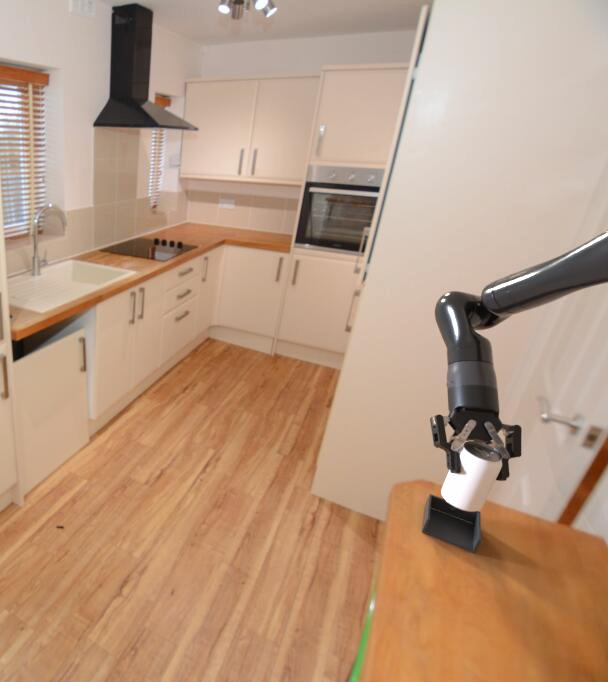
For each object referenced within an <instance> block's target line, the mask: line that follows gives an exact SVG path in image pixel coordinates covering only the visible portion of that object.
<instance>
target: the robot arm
mask: <svg viewBox="0 0 608 682" xmlns="http://www.w3.org/2000/svg"><path fill="white" fill-rule="evenodd" d="M602 284H608V229H606V230H605V231H603V232H602V233H599V234H598V235H596V236H594V237H593V238H591V239H588V240H587V241H585V242H584V243H582V244H580V245H578V246H577V247H574V248H573V249H570V250H568V251H566V252H564V253H562V254H560V255H558V256H555V257H553V258H550V259H547V260H545V261H542V262H539V263H536V264H534V265H531V266H528V267H526V268H523V269H520V270H518V271H515V272H513V273H510V274H507V275H505V276H502V277H500V278H497V279H496V280H494V281H492V282H490V283H488V284H487V285H485V286H484V287H483V289H482V291H481V293H480V295H478V294H474V293H469V292H464V291H459V290H450V291H448V292H445V293H444V294H441V296H440V297H439V298H438V300H437V302H436V303H435V307H434V319H435V322H436V325H437V327H438V330H439V333H440V335H441V338H442V340H443V343H444V345H445V348H446V360H447V371H446V372H447V373H446V388H447V389H446V390H447V408H448V409H447V410H448V415H447V416H446V415H445V416H444V415H442V414H436V415H433V416H431V417H430V418H429V421H430V429H431V436H432V443H433V446H434V447H435V448H437V449H441V450H443V451H444V452H445V458H446V468H447V470H450V472H451V473H453V474H459V473H460V472H461V465H460V453H459V452H458V450H459V448H461V447H462V446H463V444H464V443H465V442H468V441H477V442H481V443H485V444H487V445H490V446H492V447H494V448H495V449H497V450H498V451H499V452H500V453H501V454H502V456H503V458H502V468H501V470H500V472H499V474H498V476H497V478H496V480H495V481H497V482H504V481H505V482H506V481H507V480H508V478H509V477H510V475H511V474H510V464H509V461H510V460H511V459H515V458H520V457H522V435H523V434H522V432H523V431H522V430H523V429H522V426H521V425H519V424H513V425H511V424H507V423H503V421H501V418H500V400H499V390H498V389H499V387H498V378H497V374H496V370H495V366H494V354H493V346H492V342H491V340H490V339H489V338H487V337H485V336H484V335H482V334H480V333H478V331H484V330H490V329H493V328H494V327H497V326H498V325H500V324H501V323H503V322H504V321H506V320H508V319H510V318H511V317H512V316H513V315H517V314H520V313H522V312H526V311H529V310H532V309H536V308H540V307H542V306H546V305H547V304H550V303H553V302H555V301H558V300H559V299H560V300H561V299H562V298H565V297H567V296H569V295H571V294H574V293H577V292H579V291H582V290H586V289H587V288H591V287H594V286H598V285H602ZM448 425H449V426H450V428H451V429H452V430H453V432H452V434H451V436H449V439H447V433H446V427H447V426H448ZM500 431H501V432H502V435H503V436H504V441H503V439H502V438H501V437H500V435H499V433H500Z"/></svg>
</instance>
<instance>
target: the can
mask: <svg viewBox="0 0 608 682" xmlns="http://www.w3.org/2000/svg"><path fill="white" fill-rule="evenodd" d="M457 452H459V453H460V465H461V472H460V473H459V474H453V473H451V472H450V470H449V471H448V473H447V475H446V478H445V479H444V482H443V484H442V487H441V490H440V494H441V497H442V498H443V499H445V500H446V501H447V502H448V503H449V504H450V505H452V506H453V507H455V508H457V509H460V510H463V511H467V512H475V511H479V512H480V511H481V510H482V509H483V507H484V505H485V503H486V501H487V499H488V497H489V495H490V493H491V490H492V489H493V487H494V484H495V483H496V481H497V480H496V478H497V476H498V474H499V472H500V470H501V468H502V458H503V456H502V454H501V453H500V452H499V451H498V450H497V449H495V448H494V447H492V446H490V445H487V444H485V443H481V442H477V441H473V440H471V441H465V442H463V445H461V447H460V448H459V450H458V451H457Z"/></svg>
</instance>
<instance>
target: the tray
mask: <svg viewBox="0 0 608 682" xmlns="http://www.w3.org/2000/svg"><path fill="white" fill-rule="evenodd" d="M424 507H425V508H423V518H422V524H421V525H422V528H421V533H423V534H425V535H428V536H430V537H433V538H435V539H436V540H437V539H438V540H439V541H443V542H445V543H448V544H451V545H453V546H455V547H457V548H460V549H463V550H465V551H468V552H470V553H473V554H476V552H477V550H478V548H479V546H480V544H481V542H482V520H481V517H482V516H481V515H482V514H481V511H480V510H479V511H475V512H467V511H463V510H460V509H457V508H455V507H453V506H452V505H450V504H449V503H448V502H447V501H446V500H445V499H444V498H443V497H439V496H437V495H434V494H431V493H429V495H428V497H427V499H426V501H425V505H424Z"/></svg>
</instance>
